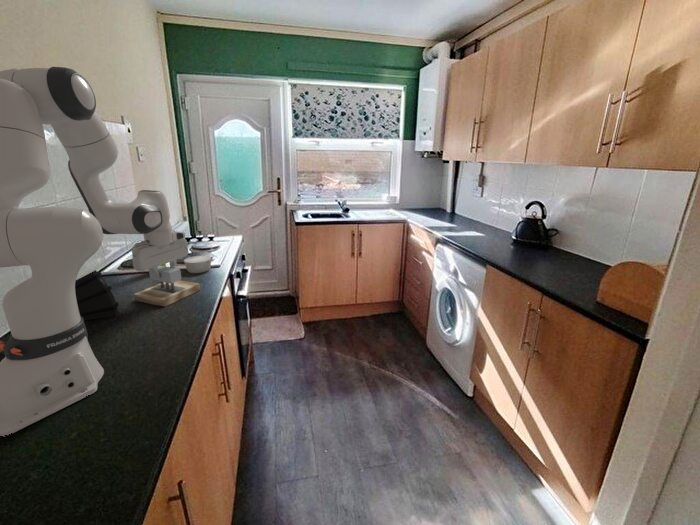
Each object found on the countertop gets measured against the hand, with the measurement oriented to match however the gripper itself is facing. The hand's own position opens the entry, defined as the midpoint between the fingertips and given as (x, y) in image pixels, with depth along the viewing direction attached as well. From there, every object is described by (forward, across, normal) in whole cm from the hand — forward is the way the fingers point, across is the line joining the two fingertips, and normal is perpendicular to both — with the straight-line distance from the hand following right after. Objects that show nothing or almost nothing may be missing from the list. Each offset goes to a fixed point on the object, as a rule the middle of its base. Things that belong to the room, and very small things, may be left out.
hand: (165, 275), depth 121 cm
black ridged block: (+8, -22, +7) cm, 24 cm away
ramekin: (+8, +26, +11) cm, 29 cm away
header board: (+8, 0, 0) cm, 8 cm away
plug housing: (+2, 0, 0) cm, 2 cm away
